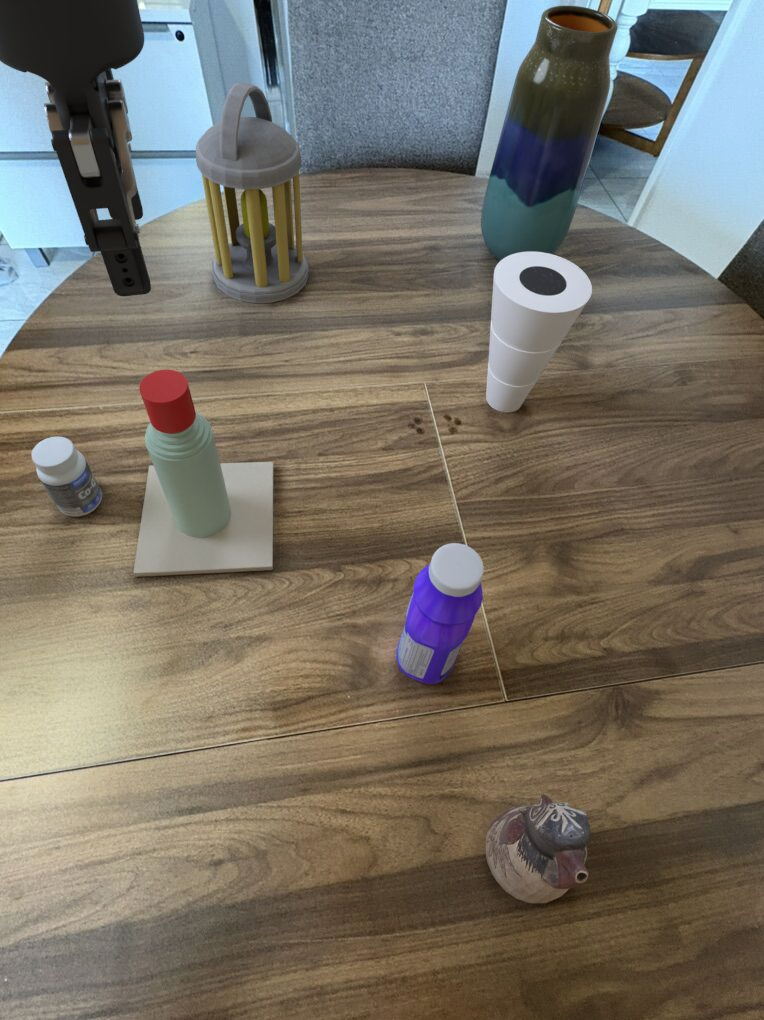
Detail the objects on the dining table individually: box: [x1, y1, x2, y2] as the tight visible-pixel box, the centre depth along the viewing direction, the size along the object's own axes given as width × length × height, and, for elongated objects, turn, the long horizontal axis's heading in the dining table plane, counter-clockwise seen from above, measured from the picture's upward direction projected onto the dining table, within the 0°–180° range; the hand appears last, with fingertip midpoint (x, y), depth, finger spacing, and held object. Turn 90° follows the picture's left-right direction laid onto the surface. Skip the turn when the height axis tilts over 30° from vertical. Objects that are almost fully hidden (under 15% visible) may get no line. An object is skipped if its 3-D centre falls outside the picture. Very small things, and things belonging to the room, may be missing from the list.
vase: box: [480, 5, 618, 262], centre depth 87 cm, size 14×14×31 cm
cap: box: [138, 369, 197, 434], centre depth 52 cm, size 4×4×4 cm
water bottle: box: [144, 411, 231, 537], centre depth 59 cm, size 6×6×18 cm
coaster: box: [132, 461, 275, 578], centre depth 67 cm, size 14×14×1 cm
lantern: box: [195, 81, 310, 304], centre depth 82 cm, size 14×14×25 cm
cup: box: [485, 252, 593, 414], centre depth 74 cm, size 11×11×18 cm
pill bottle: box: [30, 436, 103, 518], centre depth 64 cm, size 5×5×8 cm
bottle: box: [396, 542, 485, 685], centre depth 53 cm, size 7×6×17 cm
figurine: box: [485, 794, 592, 904], centre depth 46 cm, size 7×7×12 cm
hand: (131, 252), depth 41 cm, fingers open, 8 cm apart
